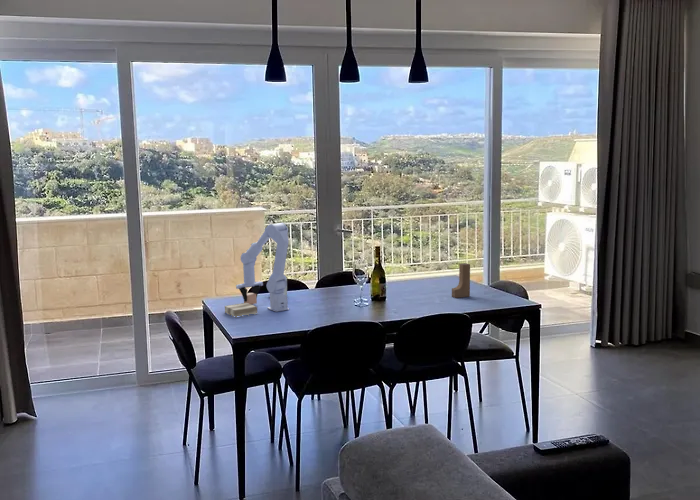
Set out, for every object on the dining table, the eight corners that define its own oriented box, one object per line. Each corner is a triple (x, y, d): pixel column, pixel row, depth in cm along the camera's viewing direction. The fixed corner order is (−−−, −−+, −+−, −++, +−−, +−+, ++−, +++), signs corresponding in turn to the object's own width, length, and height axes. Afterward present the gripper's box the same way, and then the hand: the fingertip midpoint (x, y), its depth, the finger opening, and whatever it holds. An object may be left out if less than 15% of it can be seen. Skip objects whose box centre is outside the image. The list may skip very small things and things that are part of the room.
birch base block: (257, 314, 336) (257, 306, 335) (235, 318, 329) (234, 310, 328) (246, 310, 345) (246, 302, 345) (225, 313, 339) (224, 305, 338)
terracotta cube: (256, 303, 354) (256, 294, 354) (248, 304, 352) (247, 295, 351) (252, 301, 359) (252, 292, 358) (243, 303, 356) (243, 293, 355)
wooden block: (455, 298, 364) (455, 265, 361) (451, 296, 368) (451, 264, 365) (470, 296, 367) (470, 264, 364) (466, 295, 371) (466, 262, 368)
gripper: (258, 272, 360) (259, 297, 362) (233, 275, 352) (234, 301, 354) (264, 274, 354) (265, 299, 356) (239, 277, 346) (240, 303, 348)
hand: (250, 300), depth 355 cm, fingers closed on terracotta cube, 5 cm apart
